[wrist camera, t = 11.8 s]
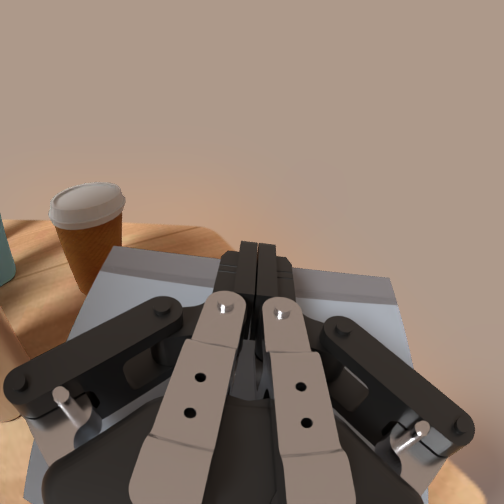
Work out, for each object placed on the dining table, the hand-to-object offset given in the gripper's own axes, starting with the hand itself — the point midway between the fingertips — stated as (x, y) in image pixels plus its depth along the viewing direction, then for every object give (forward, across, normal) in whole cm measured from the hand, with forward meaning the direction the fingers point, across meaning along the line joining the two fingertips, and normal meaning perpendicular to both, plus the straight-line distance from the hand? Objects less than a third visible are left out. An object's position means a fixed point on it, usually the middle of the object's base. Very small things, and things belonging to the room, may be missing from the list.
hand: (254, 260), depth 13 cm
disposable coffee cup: (+15, +19, +16) cm, 29 cm away
